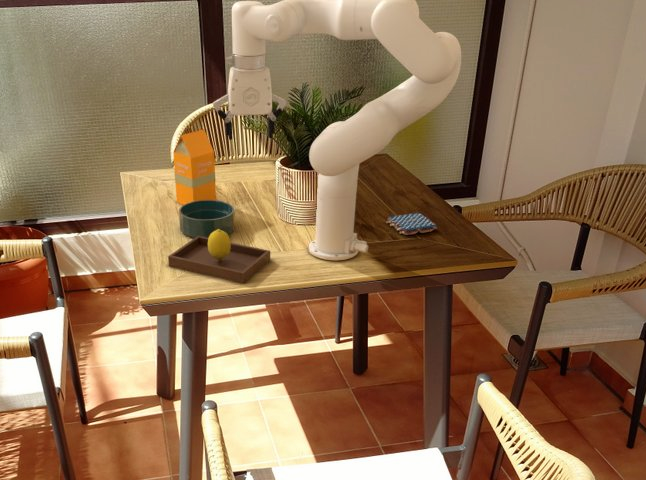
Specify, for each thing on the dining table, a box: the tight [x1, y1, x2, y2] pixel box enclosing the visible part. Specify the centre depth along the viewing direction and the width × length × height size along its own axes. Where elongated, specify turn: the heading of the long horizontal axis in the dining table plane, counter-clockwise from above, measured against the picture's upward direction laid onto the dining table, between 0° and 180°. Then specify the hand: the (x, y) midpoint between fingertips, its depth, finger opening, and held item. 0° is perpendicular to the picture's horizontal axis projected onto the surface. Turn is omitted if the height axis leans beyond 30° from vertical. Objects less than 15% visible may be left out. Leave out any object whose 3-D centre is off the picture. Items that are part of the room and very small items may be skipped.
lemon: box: [208, 229, 232, 260], centre depth 176 cm, size 6×6×8 cm
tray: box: [167, 236, 271, 284], centre depth 178 cm, size 21×14×3 cm
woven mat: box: [386, 212, 438, 236], centre depth 198 cm, size 10×11×2 cm
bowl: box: [178, 199, 236, 239], centre depth 195 cm, size 15×15×6 cm
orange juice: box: [172, 128, 217, 206], centre depth 208 cm, size 8×9×20 cm
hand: (250, 137), depth 177 cm, fingers open, 9 cm apart
